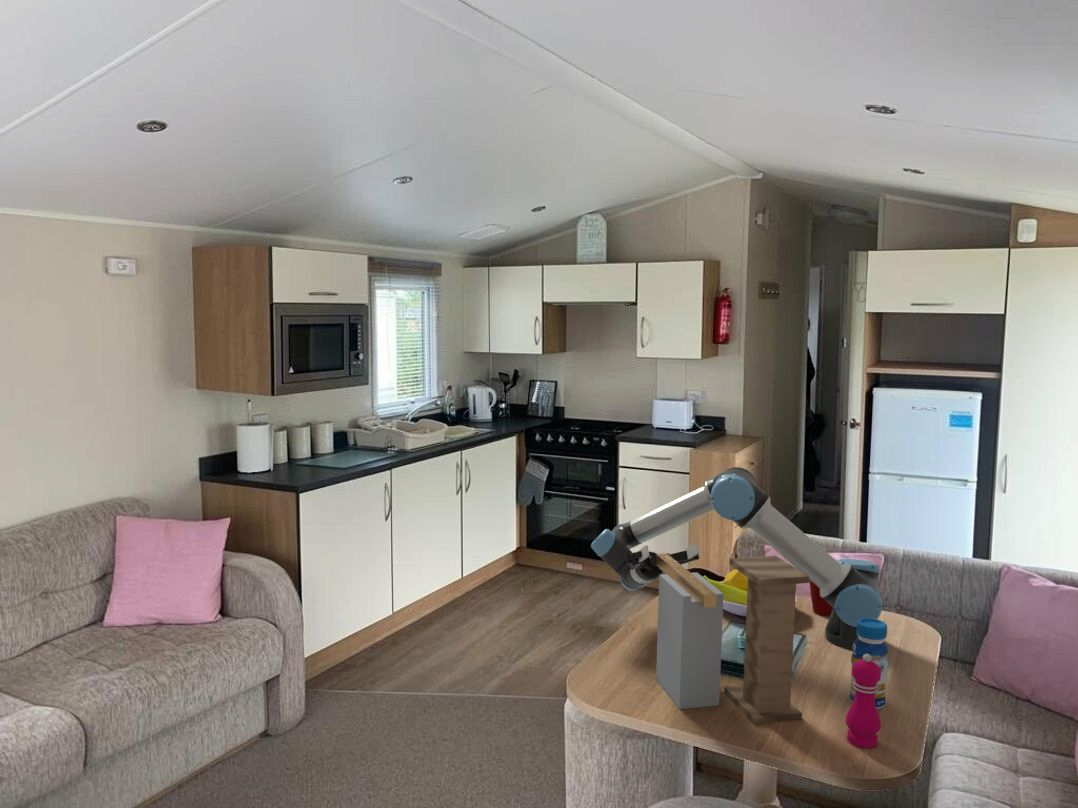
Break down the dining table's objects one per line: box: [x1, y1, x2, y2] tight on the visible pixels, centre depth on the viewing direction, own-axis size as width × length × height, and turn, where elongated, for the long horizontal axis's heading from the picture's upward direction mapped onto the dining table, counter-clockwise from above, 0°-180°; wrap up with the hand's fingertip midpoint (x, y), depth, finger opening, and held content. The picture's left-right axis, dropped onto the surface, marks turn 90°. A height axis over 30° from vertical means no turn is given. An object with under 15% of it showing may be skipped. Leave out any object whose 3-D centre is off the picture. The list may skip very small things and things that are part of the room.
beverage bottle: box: [849, 618, 890, 710], centre depth 208 cm, size 8×8×20 cm
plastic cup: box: [808, 579, 833, 616], centre depth 269 cm, size 11×11×12 cm
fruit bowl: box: [702, 568, 797, 617], centre depth 270 cm, size 28×27×11 cm
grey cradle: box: [655, 571, 724, 710], centre depth 212 cm, size 16×10×28 cm, turn 12°
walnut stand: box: [723, 555, 809, 725], centre depth 205 cm, size 16×12×34 cm
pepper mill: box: [845, 654, 882, 749], centre depth 190 cm, size 7×7×20 cm
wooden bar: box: [656, 552, 717, 608], centre depth 215 cm, size 32×3×3 cm, turn 12°
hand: (672, 549), depth 224 cm, fingers open, 13 cm apart
